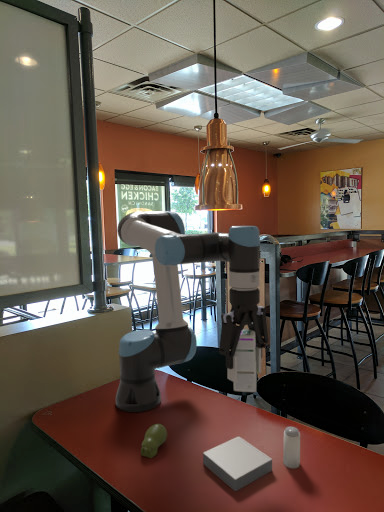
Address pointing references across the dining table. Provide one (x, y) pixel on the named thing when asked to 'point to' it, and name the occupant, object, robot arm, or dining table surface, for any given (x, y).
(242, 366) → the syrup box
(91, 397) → the dining table surface
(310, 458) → the dining table surface
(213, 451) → the riser
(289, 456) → the shaker
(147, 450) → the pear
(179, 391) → the dining table surface
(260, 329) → the robot arm
